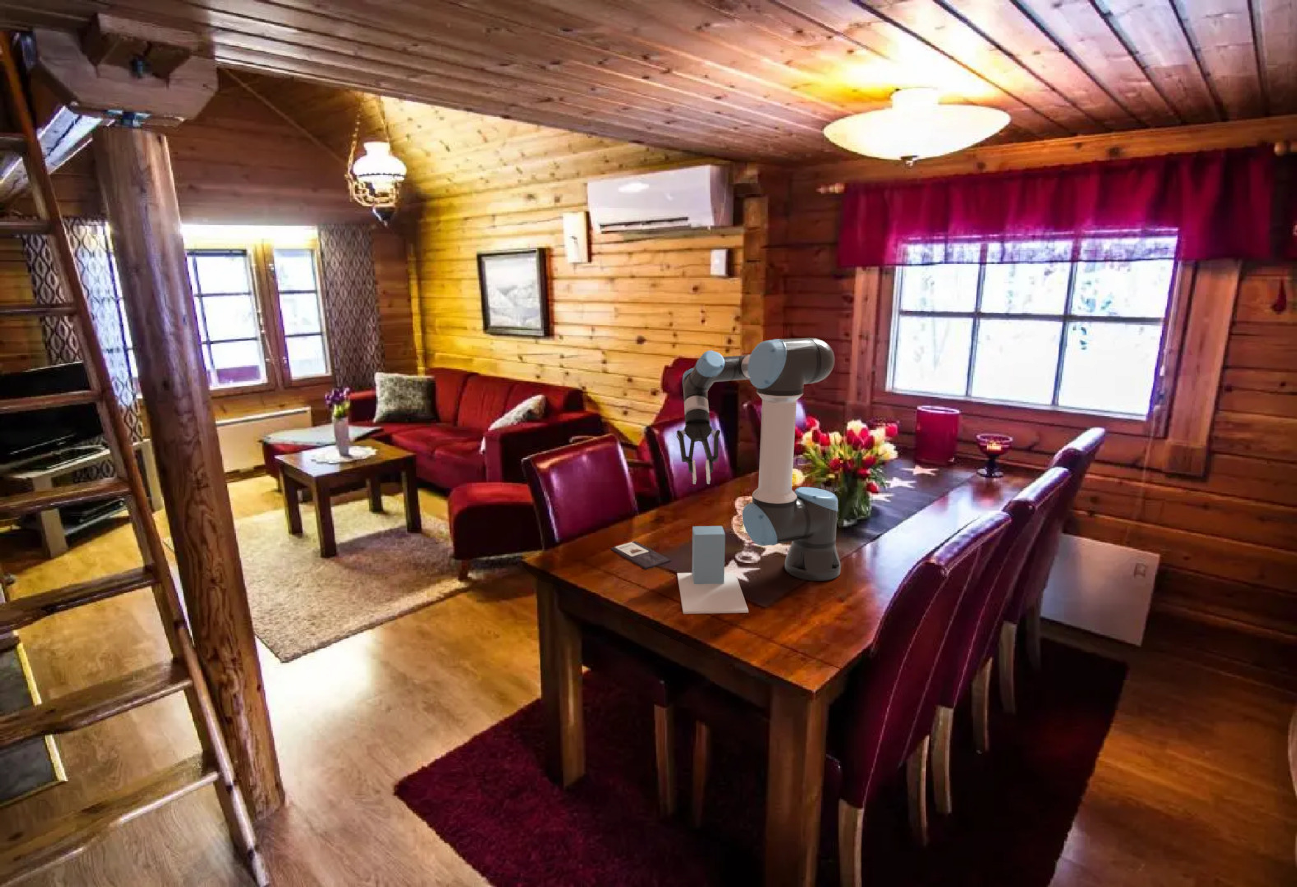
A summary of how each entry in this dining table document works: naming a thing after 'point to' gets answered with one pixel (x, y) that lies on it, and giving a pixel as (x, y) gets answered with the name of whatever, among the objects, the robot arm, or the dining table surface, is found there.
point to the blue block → (708, 554)
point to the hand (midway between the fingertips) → (701, 481)
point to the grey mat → (711, 595)
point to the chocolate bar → (640, 555)
